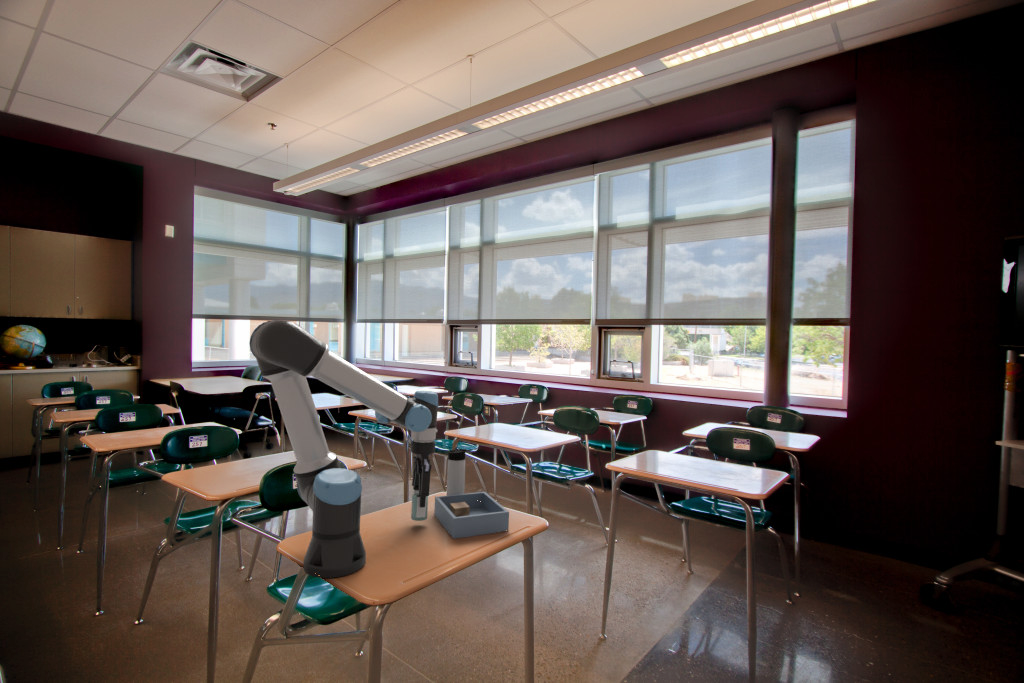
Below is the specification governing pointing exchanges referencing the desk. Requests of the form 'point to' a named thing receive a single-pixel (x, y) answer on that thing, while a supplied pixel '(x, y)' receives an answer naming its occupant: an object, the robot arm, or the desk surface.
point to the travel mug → (456, 472)
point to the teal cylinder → (414, 509)
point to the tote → (472, 515)
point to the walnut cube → (460, 509)
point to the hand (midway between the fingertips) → (418, 513)
